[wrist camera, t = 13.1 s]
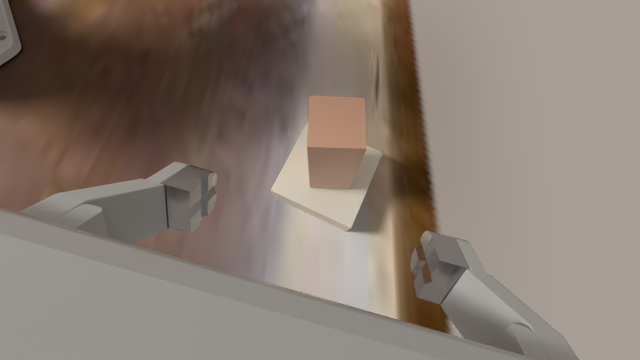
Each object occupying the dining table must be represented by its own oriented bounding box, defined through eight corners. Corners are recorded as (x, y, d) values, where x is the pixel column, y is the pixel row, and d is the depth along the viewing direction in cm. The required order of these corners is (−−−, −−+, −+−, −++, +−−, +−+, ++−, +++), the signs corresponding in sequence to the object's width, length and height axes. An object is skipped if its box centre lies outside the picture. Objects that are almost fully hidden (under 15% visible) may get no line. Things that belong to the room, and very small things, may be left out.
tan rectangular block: (309, 187, 27) (306, 146, 18) (311, 151, 28) (309, 95, 19) (348, 188, 27) (366, 148, 18) (348, 152, 28) (365, 97, 19)
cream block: (275, 198, 31) (270, 190, 27) (308, 135, 33) (308, 119, 29) (345, 231, 30) (351, 228, 26) (374, 164, 32) (383, 152, 29)
